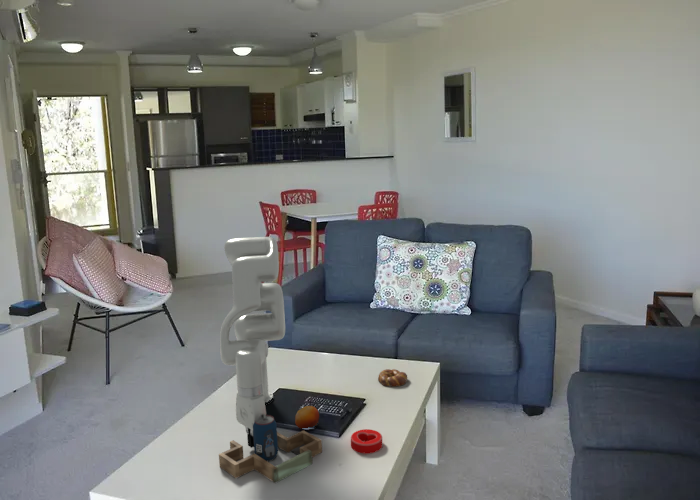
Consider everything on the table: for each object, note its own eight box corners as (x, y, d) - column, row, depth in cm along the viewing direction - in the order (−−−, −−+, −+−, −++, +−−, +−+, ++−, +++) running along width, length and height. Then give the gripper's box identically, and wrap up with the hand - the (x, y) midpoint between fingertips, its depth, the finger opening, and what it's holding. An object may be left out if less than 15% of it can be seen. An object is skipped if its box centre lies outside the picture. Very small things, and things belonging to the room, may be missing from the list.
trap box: (212, 461, 182) (211, 449, 181) (282, 430, 199) (281, 419, 198) (256, 492, 166) (255, 479, 165) (328, 455, 183) (327, 443, 183)
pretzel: (370, 381, 236) (370, 372, 235) (391, 373, 242) (391, 364, 242) (392, 390, 226) (392, 381, 226) (413, 382, 233) (413, 373, 233)
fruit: (321, 430, 196) (308, 409, 195) (301, 440, 198) (288, 419, 197) (327, 418, 203) (314, 398, 203) (308, 428, 206) (295, 408, 205)
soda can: (264, 448, 188) (261, 411, 186) (283, 453, 185) (280, 416, 183) (250, 459, 182) (247, 421, 180) (269, 465, 179) (266, 426, 177)
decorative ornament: (352, 455, 184) (351, 445, 183) (350, 438, 193) (349, 429, 193) (384, 453, 184) (384, 443, 184) (380, 437, 194) (380, 427, 193)
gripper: (225, 385, 187) (229, 441, 191) (254, 400, 177) (257, 459, 180) (246, 378, 192) (250, 432, 196) (275, 392, 182) (278, 449, 185)
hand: (253, 445), depth 188 cm, fingers closed
